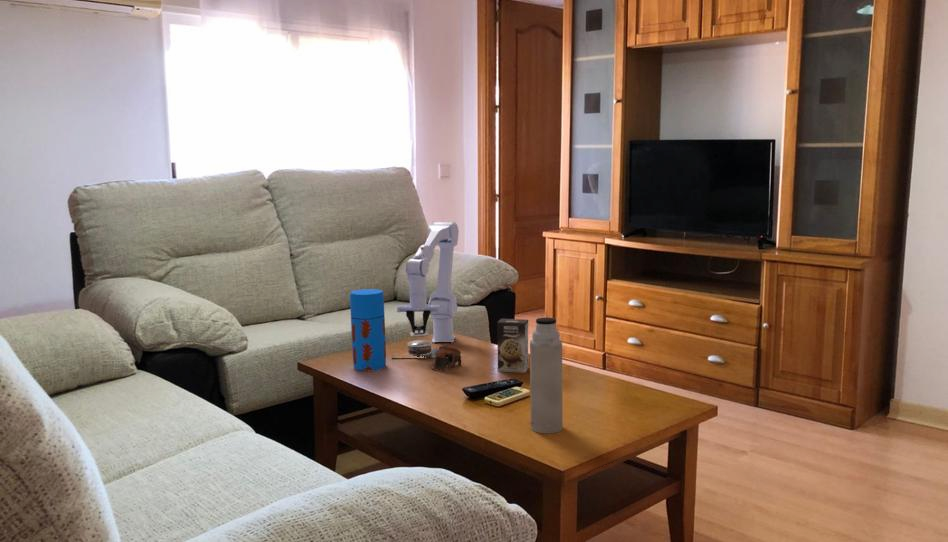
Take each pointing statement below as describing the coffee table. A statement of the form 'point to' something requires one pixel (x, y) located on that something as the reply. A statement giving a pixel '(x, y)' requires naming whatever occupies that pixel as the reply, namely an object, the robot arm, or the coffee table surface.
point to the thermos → (368, 329)
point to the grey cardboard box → (513, 345)
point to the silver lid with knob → (419, 331)
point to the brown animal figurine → (442, 359)
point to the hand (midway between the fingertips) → (419, 332)
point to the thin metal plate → (421, 349)
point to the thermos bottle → (546, 377)
